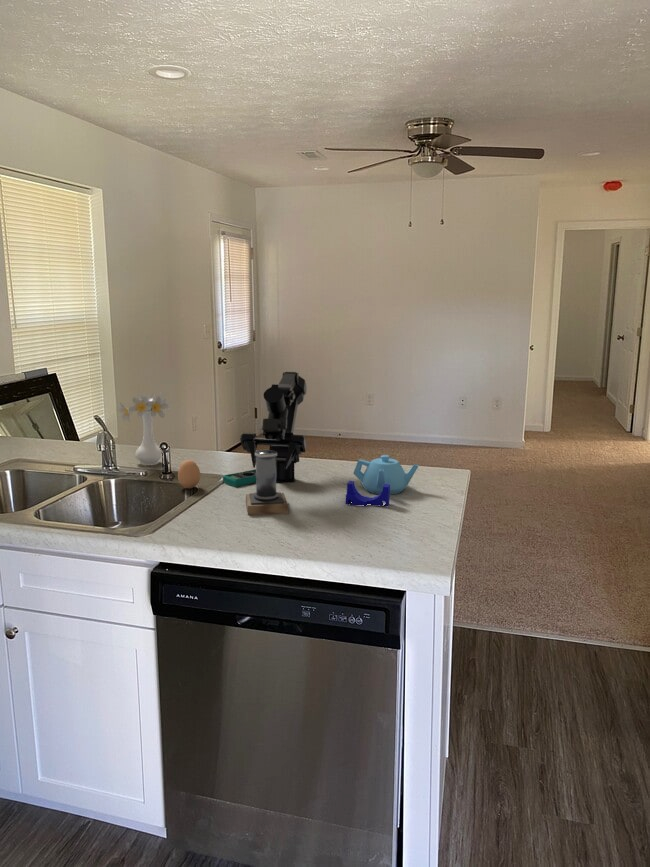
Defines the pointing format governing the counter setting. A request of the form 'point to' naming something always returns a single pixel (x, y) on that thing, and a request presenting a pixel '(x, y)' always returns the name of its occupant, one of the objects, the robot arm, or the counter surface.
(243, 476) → the digital multimeter
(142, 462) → the flower vase
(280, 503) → the stand
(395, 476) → the teapot
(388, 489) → the cable clip
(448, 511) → the counter surface
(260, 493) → the grey plastic cylinder
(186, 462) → the egg
